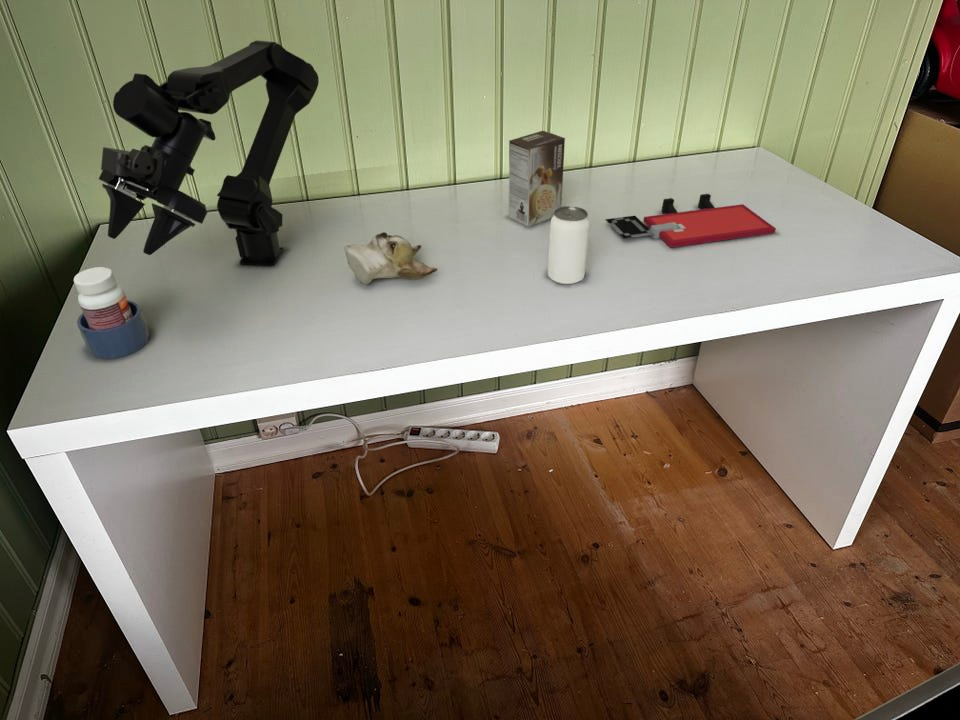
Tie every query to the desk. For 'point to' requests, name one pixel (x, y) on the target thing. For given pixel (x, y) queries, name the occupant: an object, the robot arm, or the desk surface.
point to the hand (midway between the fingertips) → (128, 245)
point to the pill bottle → (102, 299)
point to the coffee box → (535, 177)
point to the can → (568, 245)
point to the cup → (116, 336)
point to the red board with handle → (694, 224)
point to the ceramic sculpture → (385, 259)
